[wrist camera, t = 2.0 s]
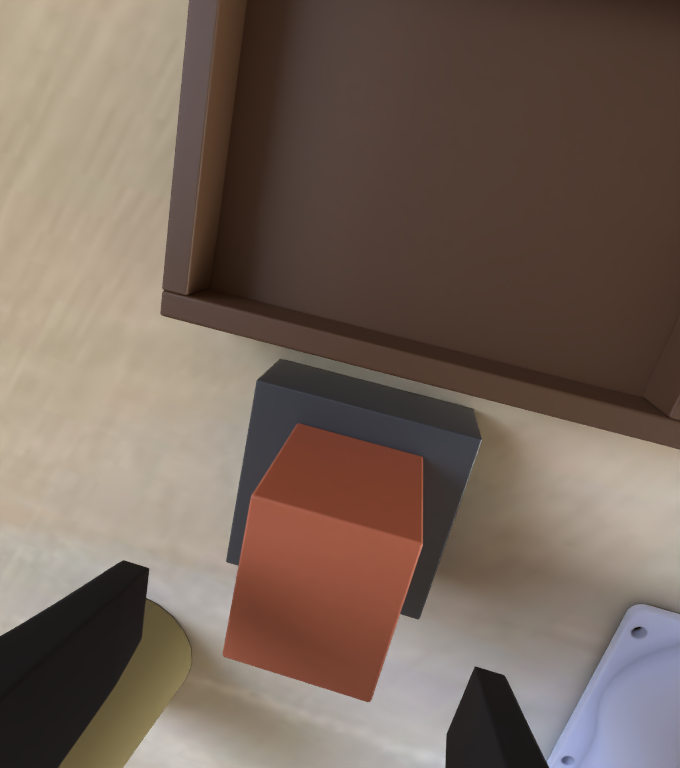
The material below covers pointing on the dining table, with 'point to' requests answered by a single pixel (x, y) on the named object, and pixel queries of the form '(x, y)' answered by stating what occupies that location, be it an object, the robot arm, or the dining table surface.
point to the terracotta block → (327, 561)
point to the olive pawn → (136, 695)
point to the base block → (371, 424)
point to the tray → (441, 195)
